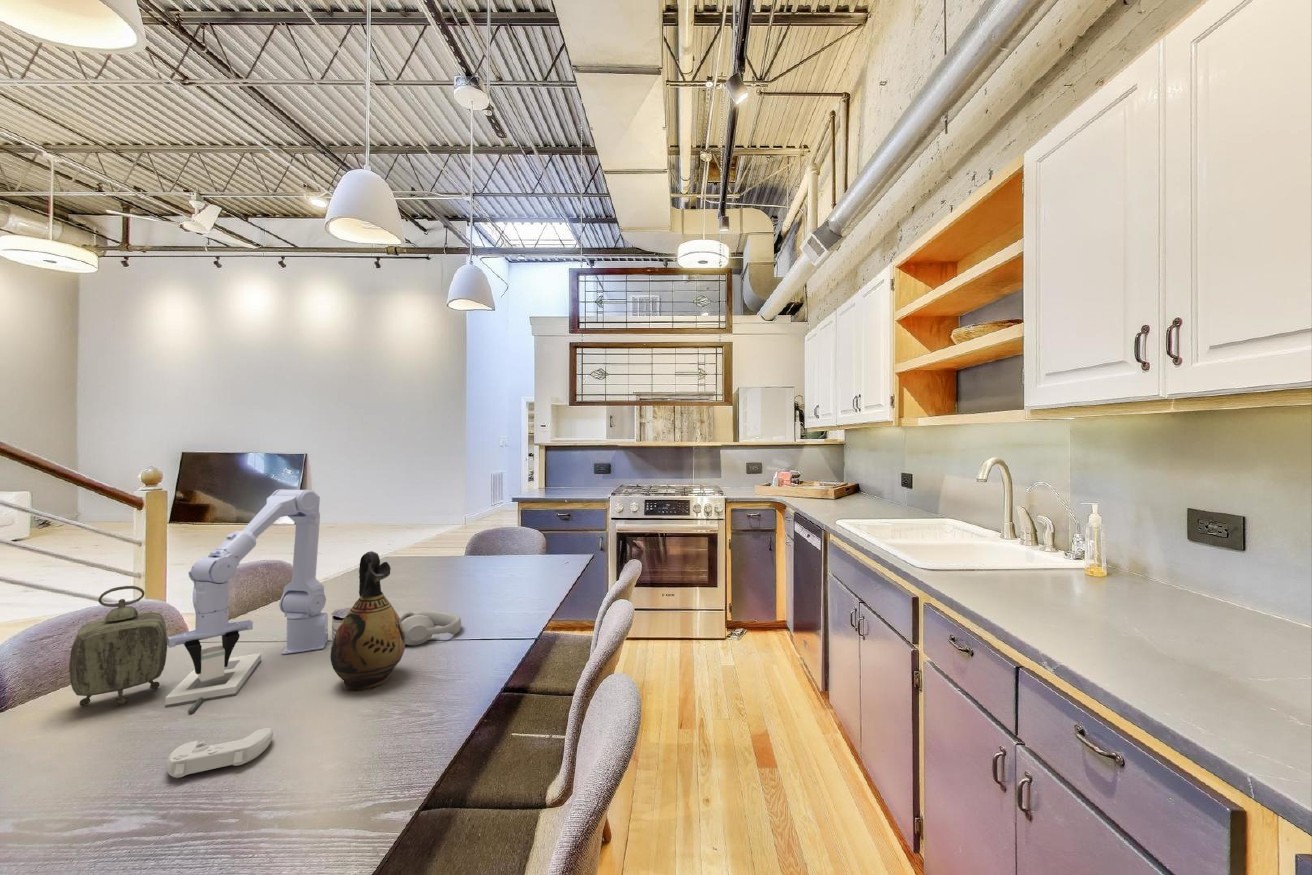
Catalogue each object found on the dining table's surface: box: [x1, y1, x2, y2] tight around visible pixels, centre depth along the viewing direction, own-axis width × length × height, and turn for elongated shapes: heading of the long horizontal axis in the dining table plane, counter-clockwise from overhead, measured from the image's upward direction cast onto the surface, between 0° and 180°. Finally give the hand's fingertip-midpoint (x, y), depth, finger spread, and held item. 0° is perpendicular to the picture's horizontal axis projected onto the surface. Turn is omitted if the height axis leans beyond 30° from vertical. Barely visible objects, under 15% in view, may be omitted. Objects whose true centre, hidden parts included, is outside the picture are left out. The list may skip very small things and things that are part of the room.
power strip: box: [164, 653, 262, 714], centre depth 117 cm, size 12×26×2 cm, turn 25°
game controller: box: [165, 727, 274, 779], centre depth 90 cm, size 14×4×10 cm
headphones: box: [396, 610, 462, 646], centre depth 149 cm, size 18×8×20 cm
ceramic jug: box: [329, 550, 406, 692], centre depth 121 cm, size 17×15×30 cm
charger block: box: [198, 644, 225, 682], centre depth 116 cm, size 4×4×6 cm
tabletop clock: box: [68, 585, 168, 707], centre depth 111 cm, size 14×9×25 cm, turn 134°
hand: (211, 669), depth 116 cm, fingers closed on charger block, 4 cm apart
